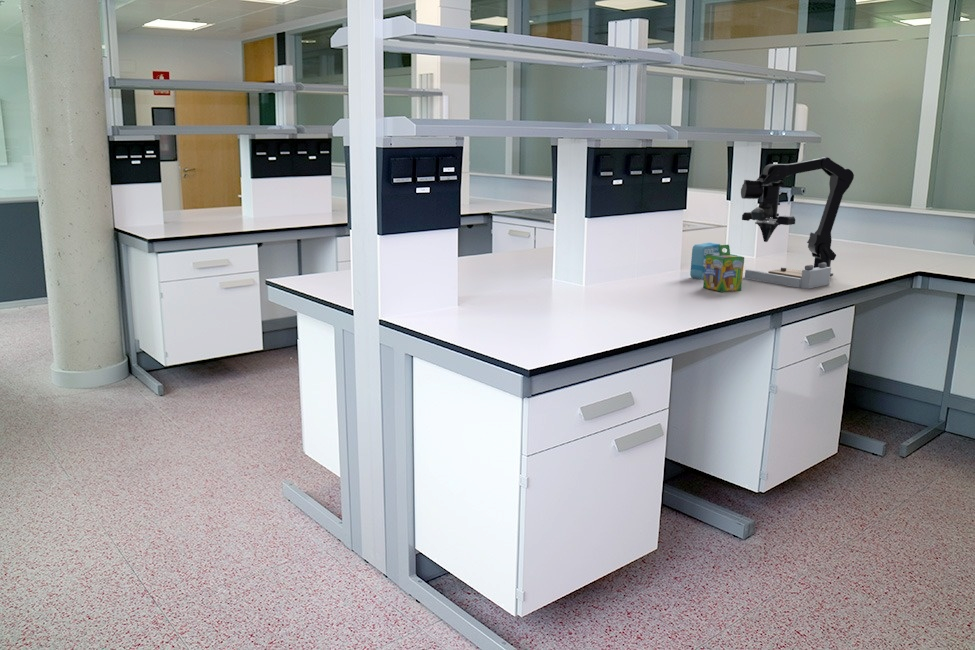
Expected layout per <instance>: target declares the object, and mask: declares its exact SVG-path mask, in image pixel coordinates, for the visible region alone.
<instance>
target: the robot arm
mask: <svg viewBox="0 0 975 650" xmlns="http://www.w3.org/2000/svg"><path fill="white" fill-rule="evenodd" d="M817 170H822V171H823V172H824V173H825V174H826V175H827V176H829V177H830V178H829V182H828V185H829V194H828V196H827V200H826V202H825V203H826V204H825V205H824V209H823V212H822V216H821V218H820V221H819V226H818V228H817V230H816V231H815V232H810V233H809V238H808V240H807V241H806V243H807V248H808V250H809V252H811V256H812V257H813V258H814V260H813V261H814V262H813V266H814V268H816V267H818V264H819V263H824V262H825V263H827V266H826V267H831V265H832V261H835V259H836V257H837V254H836V253H835V252H834V251H833V250H832V248H831V247H832V230H833V226H834V224H835V221H836V217H837V215H838V212H839V208H840V205H841V202H842V200H843V196H844V195H845V193H846V192H847V190H848V189H849V188H850V187H851V185H852V183H853V180H854V176H855V174H854V172H853V171H852V170H851V169H849V168H844V167H843V166H842V165H841V164H838V163H837V162H835V161H833V159H831V158H830V157H826V156H821V157H820V156H819V158H814V159H809V160H803V161H797V162H792V163H769V164H767V165H765V166H764V168H763V169H762V172H761V174H760V175H759V177H758V178H757V179H756V180H750V179H744V180H743V183H742V186H741V188H740V197H741V199H744V200H745V199H746V200H759V199H760V198H761V201H760V202H759V204H758V207H755V208H754V209H752V210H751V211H747V212H746V211H745V212H743V213H742V216H741V220H742V221H747V222H748V221H750V220H752V221H756V222H754V223H755V225H757V226H758V227H759V229H760V231H761V235H762V238H763V242H764V243H767V242H769V240H770V239H771V237H772V235H773V233H774V231H775V230H776V229H777V227H778V226H781V225H783V226H784V225H785V226H791V225H796V217H795V216H793V215H792V216H791V215H780V214H779V213H778V209H779V206H781V202H779V201H780V200H779V197H780V188H786V187H787V185H786V184H785V183H784V182H783V180H784V179H785V178H787V177H790V176H792V175H795V174H796V175H797V174H801V173H806V172H810V171H811V172H812V171H817ZM833 275H834V273H830V276H833Z"/></svg>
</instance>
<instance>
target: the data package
mask: <svg viewBox="0 0 975 650" xmlns="http://www.w3.org/2000/svg"><path fill="white" fill-rule="evenodd" d="M719 245H721V244H720V243H713V242H706V243H698V244H694V245H693V246H692V248H691V249H692V250H691V261H690V262H691V263H690V274H689V275H690V277H691V278H692V279H697V280H698V279H699V280H704V274H705V263H706V254H716V253H719Z"/></svg>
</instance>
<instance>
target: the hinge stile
mask: <svg viewBox="0 0 975 650" xmlns="http://www.w3.org/2000/svg"><path fill="white" fill-rule="evenodd" d="M826 266H827V263H825V262H824V263H819V264H818V267H816V268H814V264H807V265H805V266H804V269H802V270H801V271H802V277H801V285H800V287H799V288H802V289H812V288H813V289H814V288H818V287H823V286H827V285H828V286H829V285H830V281H831V280H830V279H831V275H830V273H831V272H832V267H831V266H830V267H826Z"/></svg>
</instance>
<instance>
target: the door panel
mask: <svg viewBox="0 0 975 650" xmlns="http://www.w3.org/2000/svg"><path fill="white" fill-rule="evenodd" d="M767 273H772V274H778V275H784V276H790V277H796V278H801V277H802V270H799V269H791V268H787V267H780V268H779V269H773V270H768V272H767Z"/></svg>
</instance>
